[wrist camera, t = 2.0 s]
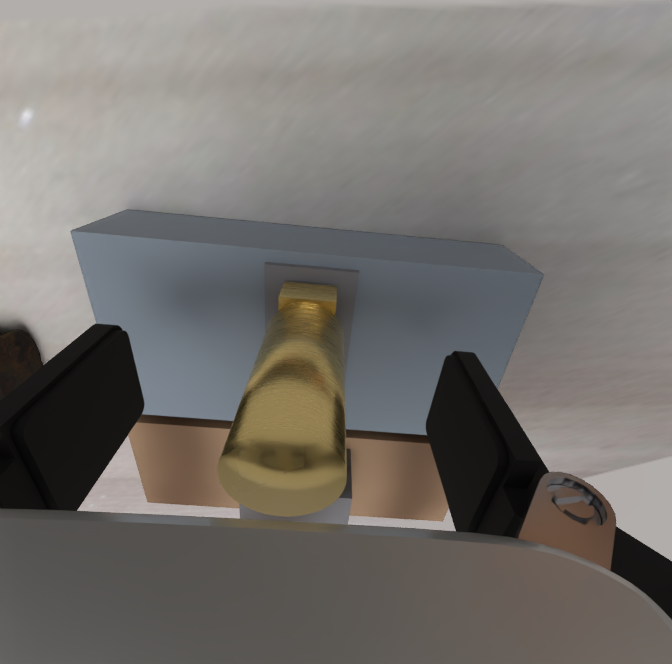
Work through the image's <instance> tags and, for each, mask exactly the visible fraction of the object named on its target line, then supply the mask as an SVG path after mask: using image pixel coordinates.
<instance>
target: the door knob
mask: <svg viewBox="0 0 672 664" xmlns="http://www.w3.org/2000/svg"><path fill="white" fill-rule="evenodd" d="M336 303H337V286H329V285H318V284H307V283H295V282H284V283H283V286H282V289H281V291H280V294H279V302H278V311H277V312H276V313H275V314H274V315H273V317H272V318H271V320H270V322H269V325H268V327H267V330H266V333H265V336H264V338H263V341H262V344H261V347H260V349H259V352H258V355H257V358H256V360H255V363H254V366H253V369H252V371H251V374H250V377H249V379H248V382H247V385H246V388H245V390H244V393H243V396H242V399H241V401H240V404H239V407H238V410H237V412H236V415H235V418H234V421H233V423H232V426H231V429H230V432H229V434H228V437H227V440H226V443H225V445H224V448H223V451H222V453H221V456H220V459H219V462H218V467H217V474H218V479H219V481H220V484H221V485H222V487H223V489H224V490H225V491H226V492H227V494H228V495H229V496H230V497H232V498H233V499H234V500H235V501H237V502H238V503H240V504H241V505H243V506H245V507H247V508H249V509H251V510H254V511H257V512H260V513H263V514H268V515H273V516H286V517H291V516H302V515H307V514H311V513H314V512H317V511H320V510H322V509H324V508H326V507H328V506H330V505H331V504H332V503H334V502H335V501H336V500H337V499H338V498H339V497H340V495H341V494H342V493H343V490H344V488H345V485H346V480H347V466H346V417H345V367H344V332H343V328H342V325H341V323H340V321H339V319H338V318H337V317H336V316H335V313H336Z"/></svg>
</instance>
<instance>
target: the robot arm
mask: <svg viewBox="0 0 672 664" xmlns="http://www.w3.org/2000/svg"><path fill="white" fill-rule="evenodd" d="M144 404H145V403H144V398H143V394H142V390H141V385H140V381H139V377H138V373H137V369H136V364H135V360H134V356H133V352H132V348H131V343H130V339H129V335H128V333H127V332H126V331H123V330H122V328H121V327H120V326H118V325H110V324H94V325H93V326H91V327H90V328H89V329H88V330H87V331H85V332H84V333H83V334H82V335H80V336H79V337H78V338H77V339H75V340H74V341H73V342H72V343H71V344H69V345H68V346H67V347H66V348H64V349H63V350H62V351H61V352H59V353H58V354H57V355H56V356H55V357H53V358H52V359H51V360H50V361H48V362H47V363H46V364H45V365H43V366H42V367H41V368H40V369H39V370H37V371H36V372H35V373H34V374H32V375H31V376H30V377H29V378H27V379H26V380H25V381H24V382H23V383H21V384H20V385H19V386H18V387H16V388H15V389H14V390H13V391H12V392H10V393H9V394H8V395H7V396H5V397H4V398H3V399H2V400H0V664H672V561H670V560H669V559H667V558H665V557H664V556H662V555H661V554H659V553H658V552H656V551H654V550H653V549H651V548H650V547H648V546H646V545H645V544H643V543H642V542H640V541H638V540H637V539H635V538H634V537H632V536H630V535H629V534H627V533H626V532H624V531H622V530H621V529H619V528H618V527H616V517H615V513H614V511H613V509H612V507H611V505H610V503H609V502H608V501H607V500H606V498H605V497H604V496H603V495H602V494H601V493H600V492H599V491H598V490H596V489H595V488H594V487H593V486H592V485H590V484H588V483H587V482H585V481H584V480H582V479H580V478H578V477H576V476H573V475H571V474H567V473H563V472H549V471H548V469H547V468H546V466H545V464H544V463H543V461H542V460H541V458H540V456H539V455H538V453H537V452H536V450H535V448H534V447H533V445H532V444H531V442H530V440H529V439H528V437H527V436H526V434H525V432H524V431H523V429H522V428H521V426H520V424H519V423H518V421H517V420H516V418H515V416H514V415H513V413H512V412H511V410H510V408H509V407H508V405H507V403H506V402H505V401H504V399H503V397H502V396H501V394H500V393H499V391H498V389H497V388H496V386H495V385H494V383H493V381H492V380H491V378H490V377H489V375H488V373H487V372H486V370H485V369H484V367H483V365H482V364H481V362H480V361H479V359H478V357H477V356H476V354H475V353H473V352H463V351H454V352H453V353H452V354H451V355H447V356H446V357H445V360H444V363H443V366H442V370H441V373H440V376H439V380H438V383H437V386H436V390H435V393H434V396H433V400H432V403H431V407H430V410H429V413H428V417H427V420H426V433H427V436H428V440H429V443H430V446H431V450H432V453H433V456H434V460H435V463H436V466H437V470H438V473H439V476H440V479H441V483H442V486H443V489H444V493H445V496H446V499H447V503H448V506H449V509H450V513H451V516H452V519H453V523H454V526H455V529H456V531H442V530H429V529H415V528H398V527H381V526H364V525H346V524H329V523H311V522H292V521H273V520H254V519H235V518H215V517H195V516H175V515H153V514H132V513H110V512H88V511H77V510H78V508H79V507H80V505H81V504H82V502H83V501H84V499H85V498H86V496H87V495H88V493H89V492H90V490H91V489H92V487H93V486H94V484H95V483H96V481H97V480H98V478H99V477H100V475H101V474H102V473H103V471H104V470H105V468H106V467H107V465H108V464H109V462H110V461H111V459H112V458H113V456H114V455H115V453H116V452H117V450H118V449H119V447H120V446H121V444H122V443H123V441H124V440H125V438H126V437H127V436H128V434H129V433H130V431H131V430H132V428H133V427H134V425H135V424H136V422H137V421H138V419H139V418H140V416H141V415H142V413H143V410H144Z"/></svg>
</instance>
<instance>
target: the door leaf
mask: <svg viewBox="0 0 672 664" xmlns="http://www.w3.org/2000/svg"><path fill="white" fill-rule="evenodd" d="M70 232H71V236H72V239H73V243H74V246H75V250H76V253H77V257H78V260H79V264H80V267H81V271H82V274H83V278H84V281H85V285H86V288H87V292H88V295H89V299H90V302H91V306H92V309H93V313H94V316H95V320H96V323H97V324H110V325H118V326H120V327H121V328H122V330H123V331H126V332H127V333H128V335H129V339H130V343H131V348H132V352H133V356H134V360H135V364H136V369H137V373H138V377H139V381H140V385H141V390H142V394H143V398H144V403H145V404H144V410H143V413H142V414H146V415H159V416H173V417H187V418H200V419H214V420H228V421H234V418H235V415H236V412H237V410H238V407H239V404H240V401H241V399H242V396H243V393H244V390H245V388H246V385H247V382H248V379H249V377H250V374H251V371H252V369H253V366H254V363H255V360H256V358H257V355H258V352H259V349H260V347H261V344H262V341H263V338H264V336H265V333H266V330H267V327H268V325H269V322H270V320H271V318H272V317H273V315H274V314H275V313H276V312H277V311H278V302H279V294H280V291H281V289H282V286H283V283H284V282H295V283H307V284H318V285H329V286H337V303H336V313H335V316H336V317H337V318H338V319H339V321H340V323H341V325H342V328H343V332H344V367H345V417H346V429H350V430H364V431H377V432H391V433H405V434H418V435H427V433H426V420H427V417H428V413H429V410H430V407H431V403H432V400H433V396H434V393H435V390H436V386H437V383H438V380H439V376H440V373H441V370H442V366H443V363H444V360H445V357H446V356H447V355H451V354H452V353H453V352H454V351H463V352H473V353H475V354H476V356H477V357H478V359H479V361H480V362H481V364H482V365H483V367H484V369H485V370H486V372H487V373H488V375H489V377H490V378H491V380H492V381H493V383H494V385H495V386H496V388H498V386H499V383H500V381H501V378H502V376H503V373H504V371H505V369H506V366H507V364H508V361H509V359H510V356H511V354H512V352H513V349H514V347H515V344H516V342H517V339H518V337H519V334H520V332H521V330H522V327H523V325H524V322H525V320H526V317H527V315H528V313H529V310H530V308H531V305H532V303H533V300H534V298H535V295H536V293H537V291H538V288H539V286H540V283H541V281H542V278H543V276H544V274H543V273H541V272H540V271H538V270H537V269H536V268H534V267H533V266H531V265H530V264H529V263H527V262H526V261H524V260H523V259H521V258H520V257H519V256H517V255H516V254H514V253H513V252H512V251H510V250H509V249H507V248H506V247H505V246H503V245H496V244H485V243H474V242H464V241H453V240H443V239H432V238H422V237H411V236H401V235H390V234H380V233H369V232H359V231H348V230H337V229H327V228H316V227H306V226H295V225H285V224H274V223H264V222H253V221H243V220H232V219H222V218H211V217H201V216H190V215H179V214H169V213H158V212H148V211H137V210H124V211H122V212H119V213H116V214H114V215H111V216H108V217H106V218H103V219H100V220H98V221H95V222H93V223H90V224H87V225H85V226H82V227H79V228H77V229H74V230H71V231H70Z"/></svg>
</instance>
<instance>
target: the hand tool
mask: <svg viewBox="0 0 672 664" xmlns="http://www.w3.org/2000/svg"><path fill="white" fill-rule="evenodd" d="M42 366H43V364H42V362H41V359H40V353H39V351H38V348H37V346H36V344H35V343H34V341H33V340H32V338H31V337H30V335H29V334H28V333H26V332H24V331H22V330H14V331H10V332H7V333H5V334H2V333H1V332H0V400H2V399H3V398H4V397H5V396H7V395H8V394H9V393H10V392H12V391H13V390H14V389H15V388H16V387H18V386H19V385H20V384H21V383H23V382H24V381H25V380H26V379H27V378H29V377H30V376H31V375H32V374H34V373H35V372H36V371H37V370H39V369H40V368H41V367H42Z"/></svg>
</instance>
